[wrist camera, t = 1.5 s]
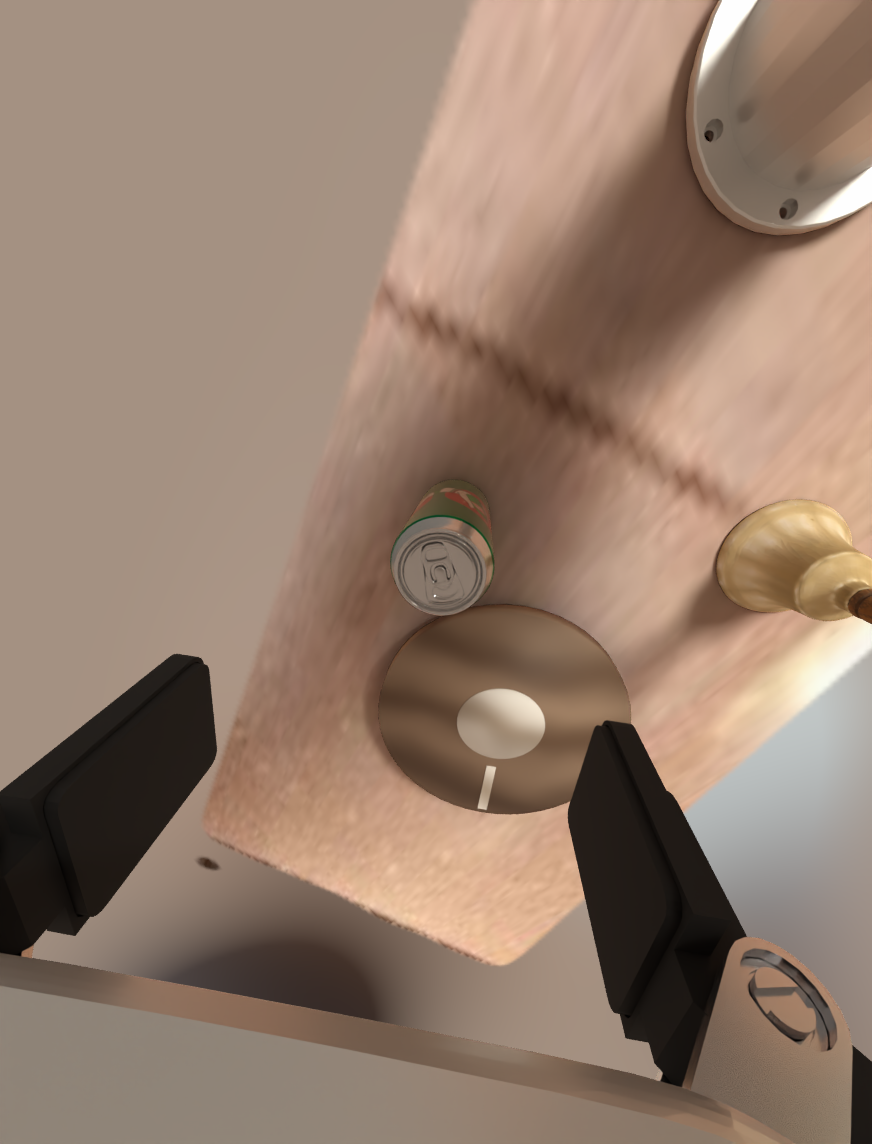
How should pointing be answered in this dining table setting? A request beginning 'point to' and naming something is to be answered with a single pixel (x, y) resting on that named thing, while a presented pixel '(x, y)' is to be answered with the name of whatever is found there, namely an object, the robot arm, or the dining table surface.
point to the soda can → (445, 550)
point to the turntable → (498, 707)
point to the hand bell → (796, 563)
